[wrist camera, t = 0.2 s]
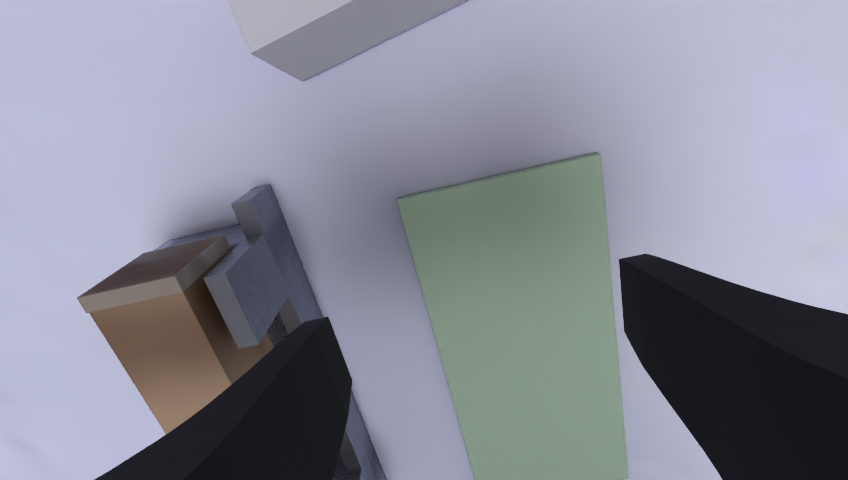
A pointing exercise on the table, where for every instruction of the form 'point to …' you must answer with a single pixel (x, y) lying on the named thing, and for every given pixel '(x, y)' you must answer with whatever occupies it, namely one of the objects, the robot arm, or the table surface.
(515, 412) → the mat
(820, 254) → the table surface
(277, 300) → the standards
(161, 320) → the rail
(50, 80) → the table surface
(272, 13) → the decorative molding
